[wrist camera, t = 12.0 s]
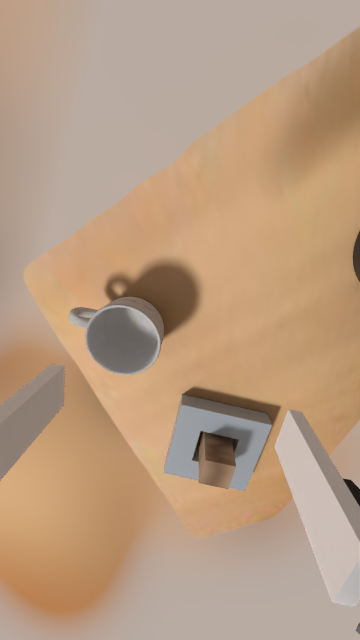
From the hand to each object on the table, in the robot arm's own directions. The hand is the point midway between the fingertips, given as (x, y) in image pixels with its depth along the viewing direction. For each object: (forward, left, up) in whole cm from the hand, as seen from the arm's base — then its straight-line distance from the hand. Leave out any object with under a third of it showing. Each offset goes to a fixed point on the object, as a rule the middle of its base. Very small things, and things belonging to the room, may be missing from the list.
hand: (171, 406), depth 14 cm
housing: (-11, +25, -26) cm, 38 cm away
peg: (-11, +25, -26) cm, 38 cm away
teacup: (+9, +5, -26) cm, 28 cm away
